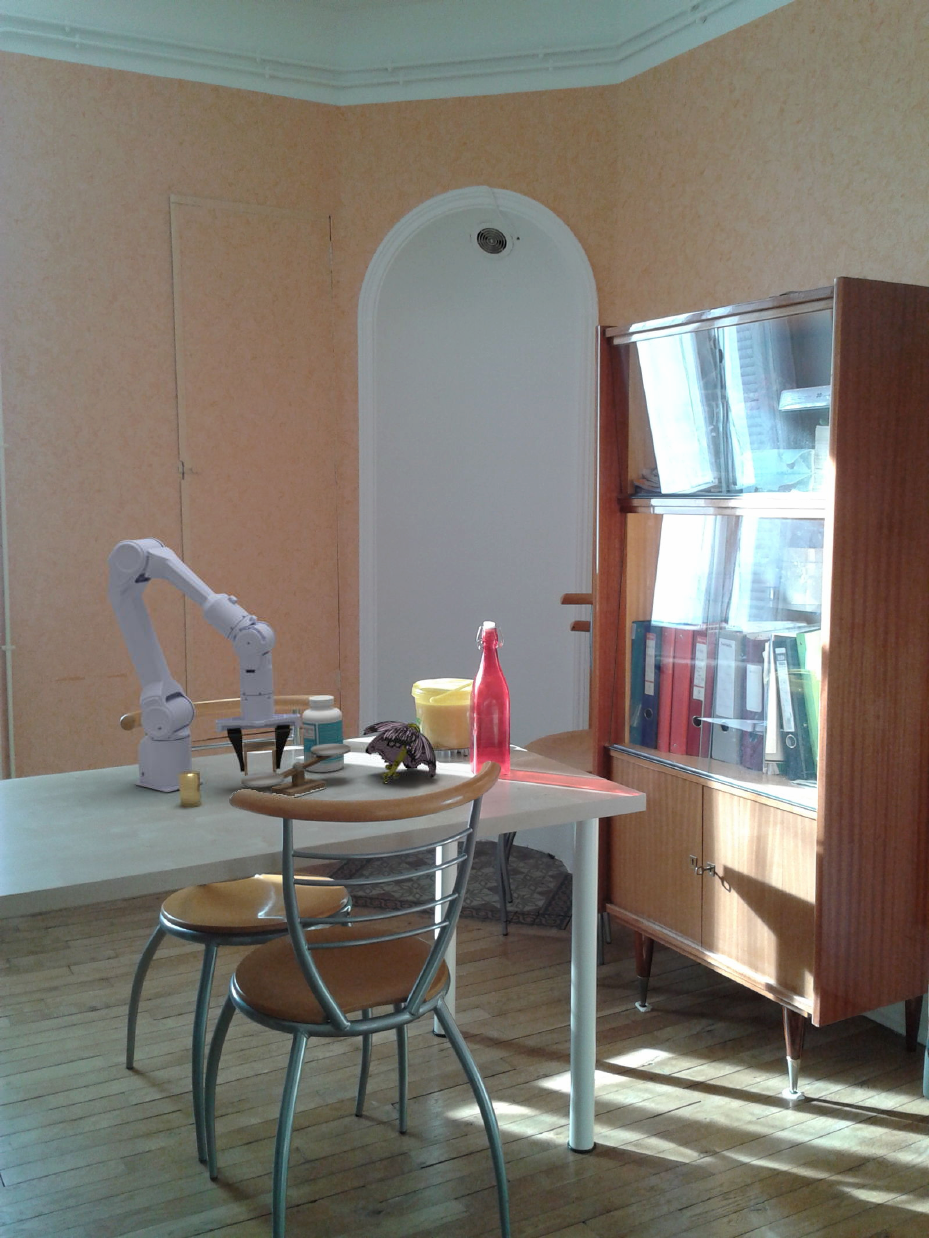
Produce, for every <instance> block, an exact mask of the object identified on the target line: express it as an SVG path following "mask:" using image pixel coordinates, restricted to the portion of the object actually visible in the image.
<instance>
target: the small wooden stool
mask: <svg viewBox="0 0 929 1238" xmlns="http://www.w3.org/2000/svg"><path fill="white" fill-rule="evenodd" d="M242 742H243V758H244V769H245V772H244V776H246V775H249V774H248V773H249V772H248V755H247V754H248V753H255V752H257V753H258V752H269V751H271V759H272V760H271V761H272V772H273V773H277V769H276V744H275V740H259V741H258V740H257V741H247V742H244V741H242Z"/></svg>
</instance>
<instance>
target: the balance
mask: <svg viewBox="0 0 929 1238" xmlns="http://www.w3.org/2000/svg"><path fill="white" fill-rule="evenodd" d="M350 752H351V746H350V745H348V744H345V743H343V744H322V745H317V746H314V747H312V748H311V753H312V754H314V755H318V756H317V757H314V758H312V759H310V760H308V761H306V762H304V761H303V762H300V761H296V762H294V763H293V764H292V767H291V768H289V769H287V770H285V771H282V772H280V773H279V772H276V773H273V771H271V772H270V771H269V772H265V771H264V772H255V773H254V772H253V773H250V774H248V775H246V776H245V775H244V776H242V777H241V779H240V780H241V785H244V786H247V787H256V788H257V787H258V788H259V787H260V788H269V787H270V789H271V790H270V792H271V793H276V794H283V795H287V796H295V794H302V793H306V792H310V791H311V790H316V789H320V788H324V787H325V788H326V781H323V780H318V779H313V778H309V777H306V773H305V770H307V769H306V768H309V767H311V766H313V765H315V764H317V763H319V762H321V761H323V760H325V759H328V758H330V757H332V756H336V755H343V754H344V755H346V754H348V753H350ZM289 777H291V781H289V782H286V783H283V782H284V780H286V779H287V778H289ZM281 783H282V784H281ZM278 784H279V785H278ZM271 786H272V787H271Z"/></svg>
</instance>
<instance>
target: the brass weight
mask: <svg viewBox="0 0 929 1238" xmlns="http://www.w3.org/2000/svg"><path fill="white" fill-rule="evenodd" d="M200 772H201V771H198V770H192V771H184V772H181V773H179V789H178V790H179V805H180V807H181V808H184V809H185V808H196V807H199V806H201V805H202V794H201V793H202V792H201V790H202V789H201V783H200V780H201V773H200Z"/></svg>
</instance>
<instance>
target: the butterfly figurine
mask: <svg viewBox="0 0 929 1238" xmlns="http://www.w3.org/2000/svg"><path fill="white" fill-rule="evenodd" d="M420 728H421V727H420V726H419V724H416V723H414V722H409V723H407V724H405V723H403V722H400V721H397V720H396V721H395V720H387V721H379V722H376V723H374V724H370V725H369V726H368V727H365V729H363V734H362V736H367V735H371V734H375V733H379V734H377V735H376V736H375V737H373V739H372V740H370V742H369V743H368V744H367V747H366V748H365V751H364V752H365V753H366V754H367V755H370V756H371V755H372V754H376V753H377V754H378V756H380V757H381V758H380V760H383V761H384V762H383V764H385V766H384V768H385V770H387V771H383V772H382V773H381V774H382V783H383V782H388V783H389V777H390V776H392V777H393V778H394V779H397V778H399V772H396V771H397V769H398V768H399V767H400V766H401V764H402V765H403V766H404V768H405V769H406V770H417V769H418V767H419V766H421V765H424V766H427V769H428V773H429V777H430V778H434V777H435V776H436V775H437V774H436V772H437V757H436V753H435V749H434V748H433V745H432V743H431V741H430V740H429V739H428V737H426V736H425V735H424V733H422V732H421V729H420ZM380 732H381V733H380Z"/></svg>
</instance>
